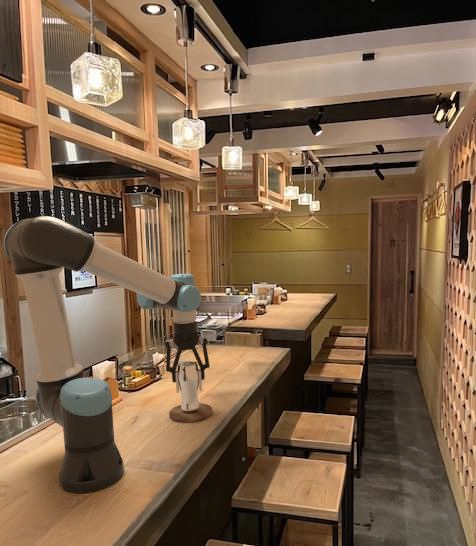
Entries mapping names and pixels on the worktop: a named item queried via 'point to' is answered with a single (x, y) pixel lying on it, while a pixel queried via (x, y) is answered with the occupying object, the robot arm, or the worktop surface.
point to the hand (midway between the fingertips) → (189, 390)
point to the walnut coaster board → (190, 414)
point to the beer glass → (188, 385)
